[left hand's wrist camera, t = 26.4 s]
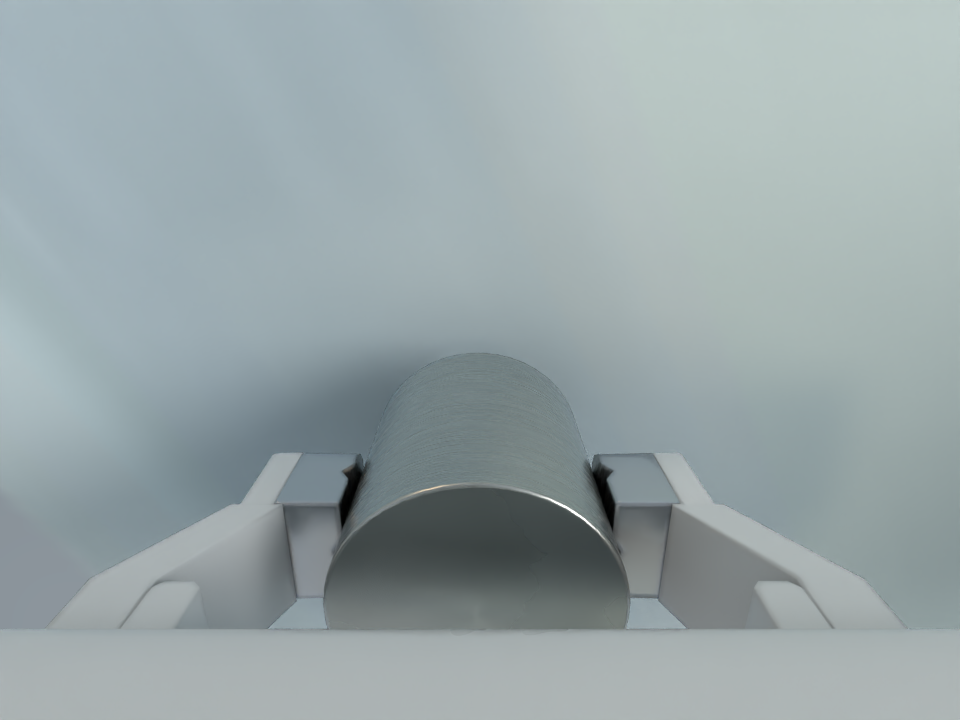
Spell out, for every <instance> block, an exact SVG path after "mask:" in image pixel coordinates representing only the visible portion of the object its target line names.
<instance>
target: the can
mask: <svg viewBox="0 0 960 720" xmlns="http://www.w3.org/2000/svg"><path fill="white" fill-rule="evenodd" d="M323 606H324V613H325V620H326V624H327V627H328V629H626V626H627V623H628V619H629V610H630V588H629V583H628V579H627V574H626V570H625V567H624V565H623V562H622V559H621V556H620V553H619V550H618V547H617V544H616V541H615V538H614V535H613V532H612V529H611V526H610V523H609V520H608V517H607V514H606V511H605V508H604V505H603V502H602V499H601V496H600V493H599V490H598V487H597V484H596V481H595V478H594V475H593V472H592V469H591V466H590V463H589V460H588V457H587V454H586V451H585V448H584V445H583V443H582V440H581V437H580V434H579V431H578V428H577V425H576V422H575V419H574V416H573V413H572V411H571V408H570V406H569V404H568V403H567V401H566V399H565V397H564V396H563V394H562V393H561V392H560V391H559V389H558V388H557V387H556V386H555V385H554V384H553V383H552V382H551V381H550V380H549V379H548V378H547V377H546V376H544V375H543V374H542V373H540V372H539V371H538V370H536V369H534V368H533V367H531V366H529V365H527V364H525V363H523V362H521V361H518V360H515V359H513V358H509V357H505V356H501V355H496V354H488V353H468V354H460V355H454V356H450V357H447V358H443V359H440V360H438V361H435V362H433V363H430V364H429V365H427V366H425V367H423V368H421V369H420V370H418V371H417V372H415V373H414V374H413V375H411V376H410V377H409V378H408V379H407V380H406V381H405V382H404V383H403V384H402V385H401V386H400V387H399V388H398V389H397V390H396V392H395V393H394V394H393V396H392V397H391V399H390V401H389V403H388V404H387V406H386V408H385V411H384V414H383V416H382V419H381V422H380V424H379V427H378V430H377V433H376V436H375V439H374V441H373V444H372V447H371V450H370V453H369V456H368V458H367V461H366V464H365V467H364V470H363V473H362V475H361V478H360V481H359V484H358V487H357V490H356V492H355V495H354V498H353V501H352V504H351V507H350V509H349V512H348V515H347V518H346V521H345V524H344V526H343V529H342V532H341V535H340V538H339V541H338V543H337V546H336V549H335V552H334V555H333V558H332V560H331V563H330V566H329V569H328V572H327V576H326V581H325V585H324V599H323Z"/></svg>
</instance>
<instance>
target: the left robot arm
mask: <svg viewBox="0 0 960 720" xmlns="http://www.w3.org/2000/svg"><path fill="white" fill-rule="evenodd" d="M363 470H364V466H363V459H362V457H361V455H360V454H337V453H305V454H304V453H303V452H298V453H276V454H273V455H272V456H271V458H270V459H269V461H268V462H267V464H266V465H265V467H264V468H263V470H262V472H261V473H260V475H259V476H258V478H257V479H256V481H255V482H254V484H253V485H252V487H251V488H250V490H249V491H248V493H247V494H246V496H245V497H244V499H243V500H242V502H241V503H240V504H230V505H228V506H227V507H225V508H223V509H221V510H219V511H217V512H215V513H213V514H211V515H209V516H208V517H206V518H204V519H202V520H200V521H198V522H196V523H194V524H192V525H190V526H188V527H187V528H185V529H183V530H181V531H179V532H177V533H175V534H173V535H171V536H169V537H168V538H166V539H164V540H162V541H160V542H158V543H156V544H154V545H152V546H150V547H149V548H147V549H145V550H143V551H141V552H139V553H137V554H135V555H133V556H131V557H129V558H128V559H126V560H124V561H122V562H120V563H118V564H116V565H114V566H112V567H110V568H109V569H107V570H105V571H103V572H101V573H99V574H97V575H95V576H93V577H91V578H90V579H89V580H88V581H87V582H86V583H85V584H84V585H83V586H82V587H81V589H80V590H79V591H78V592H77V593H76V594H75V595H74V596H73V598H72V599H71V600H70V601H69V602H68V603H67V604H66V605H65V607H64V608H63V609H62V610H61V611H60V612H59V613H58V614H57V615H56V617H55V618H54V619H53V620H52V621H51V622H50V623H49V624H48V625H47V627H46V628H45V629H0V720H960V629H908V628H907V627H906V626H905V625H904V623H903V622H902V621H901V620H900V619H899V618H898V617H897V615H896V614H895V613H894V612H893V611H892V610H891V609H890V607H889V606H888V605H887V604H886V603H885V602H884V601H883V599H882V598H881V597H880V596H879V595H878V594H877V592H876V591H875V590H874V589H873V588H872V587H871V586H870V584H869V583H868V582H867V581H866V580H865V579H863V578H861V577H860V576H858V575H856V574H854V573H852V572H850V571H848V570H846V569H845V568H843V567H841V566H839V565H837V564H835V563H833V562H831V561H830V560H828V559H826V558H824V557H822V556H820V555H818V554H816V553H814V552H813V551H811V550H809V549H807V548H805V547H803V546H801V545H799V544H798V543H796V542H794V541H792V540H790V539H788V538H786V537H784V536H783V535H781V534H779V533H777V532H775V531H773V530H771V529H769V528H767V527H766V526H764V525H762V524H760V523H758V522H756V521H754V520H752V519H751V518H749V517H747V516H745V515H743V514H741V513H739V512H737V511H736V510H734V509H732V508H730V507H728V506H726V505H724V504H714V502H713V501H712V499H711V498H710V496H709V495H708V493H707V492H706V490H705V488H704V487H703V485H702V484H701V482H700V481H699V479H698V478H697V476H696V475H695V473H694V472H693V470H692V469H691V467H690V466H689V464H688V463H687V461H686V460H685V458H684V457H683V455H682V454H680V453H678V452H671V453H635V454H597V455H594V458H593V462H592V472H593V475H594V478H595V481H596V484H597V487H598V490H599V493H600V496H601V499H602V502H603V505H604V508H605V511H606V514H607V517H608V520H609V523H610V526H611V529H612V532H613V535H614V538H615V541H616V544H617V547H618V550H619V553H620V556H621V559H622V562H623V565H624V567H625V570H626V574H627V579H628V583H629V588H630V598H659V599H658V601H659V602H660V603H661V604H662V605H663V606H664V607H665V608H667V609H668V610H669V611H670V612H671V613H672V614H673V615H674V616H675V617H676V618H677V619H678V620H679V621H680V622H681V623H682V624H683V625H684V626H685V627H686V628H687V629H268V628H269V627H270V626H271V625H272V624H273V623H274V622H275V621H276V620H277V619H278V618H279V617H280V616H281V615H282V614H283V613H285V612H286V611H287V610H288V609H289V608H290V607H291V606H292V605H293V604H294V603H295V602H296V598H324V585H325V581H326V576H327V572H328V569H329V566H330V563H331V560H332V558H333V555H334V552H335V549H336V546H337V543H338V541H339V538H340V535H341V532H342V529H343V526H344V524H345V521H346V518H347V515H348V512H349V509H350V507H351V504H352V501H353V498H354V495H355V492H356V490H357V487H358V484H359V481H360V478H361V475H362V473H363Z"/></svg>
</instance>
